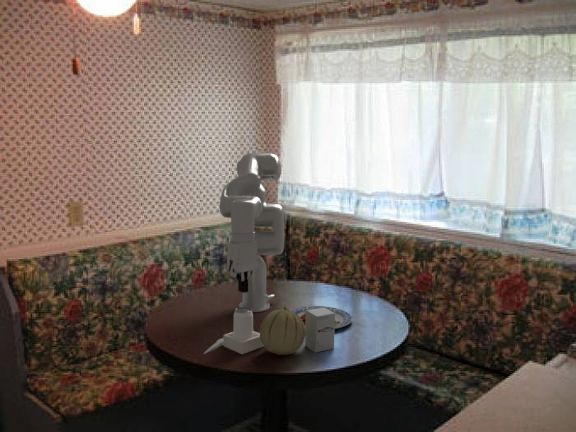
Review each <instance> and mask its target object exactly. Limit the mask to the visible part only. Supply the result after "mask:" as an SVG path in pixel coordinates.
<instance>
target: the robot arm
mask: <svg viewBox="0 0 576 432" xmlns="http://www.w3.org/2000/svg"><path fill="white" fill-rule="evenodd" d="M236 171H237V177H236V178H233V179H232V180H231V181H229V182H228V183H227V184H225V186H224V187H223V189H222V191H221V195H220V199H219V213H220V215H221V216H222V217H224V218H226V219H230V222H231V223H230V228H231V229H230V230H231V231H230V232H231V235H230V236H231V237H230V238H231V240H230V241H229V243H228V246H227V255H226V271H228V272H229V277H230V278H231V277H232V278H236V280H237V285H238V286H237V288H238V289H237V290H238V292H240V293H242V301H241V302H240V303H239V304H238V308H240V307H247V308H251V309H252V313H261V312H264V311H267V310H269V309H270V308H271V304H270V302H269V301H270V300H274V299H275V294H273V293H272V294H269V295H268V294H267V264H266V262H265V260H264V259H263V257H262V255H263V256H264V255H265V256H266V255H267V256H276V255H281V254H282V253H283V252H284V249H285V211H284V208H283V206H282V204H279V203H267V202H266V201H267V200H266V196H267V195H266V193H267V192H266V189H265V187H264V186H263V184H262V181H266V182H267V181H268V182H270V181H271V182H272V181H273V182H274V181H278V180H280V179H281V175H282V163H281V161H280V158H279V156H278V155H277V154H275V153H272V152H270V153H267V152H264V153H263V152H250V153H246V154H244V155H243V156H242V157H241V159H240V160H239V161H238V162H237V164H236ZM255 228H271V229H272V230H255Z"/></svg>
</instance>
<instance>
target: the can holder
mask: <svg viewBox="0 0 576 432" xmlns="http://www.w3.org/2000/svg"><path fill="white" fill-rule="evenodd" d="M222 338H224V345H223V347H225V348H227V349H229V350H231V351H234V352H236V353H238V354H241V355H244V354H247V353H250V352H252V351H255V350H258V349H260V348H263V347H264V345H263V343H262V341H261V339H260V332H257V331H254V330H253V338H250V339H247V340H244V341H241V340H239V339H236V338H234V331H231V332H229V333H225V334H223V336H222Z"/></svg>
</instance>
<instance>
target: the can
mask: <svg viewBox="0 0 576 432" xmlns="http://www.w3.org/2000/svg"><path fill="white" fill-rule="evenodd" d="M253 331H254V312H252V309H251V308H247V307H240V308H239V307H237V308H235V309H234V313H233V332H234V338H236V339H239V340H241V341H244V340H247V339H250V338H253Z"/></svg>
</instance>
